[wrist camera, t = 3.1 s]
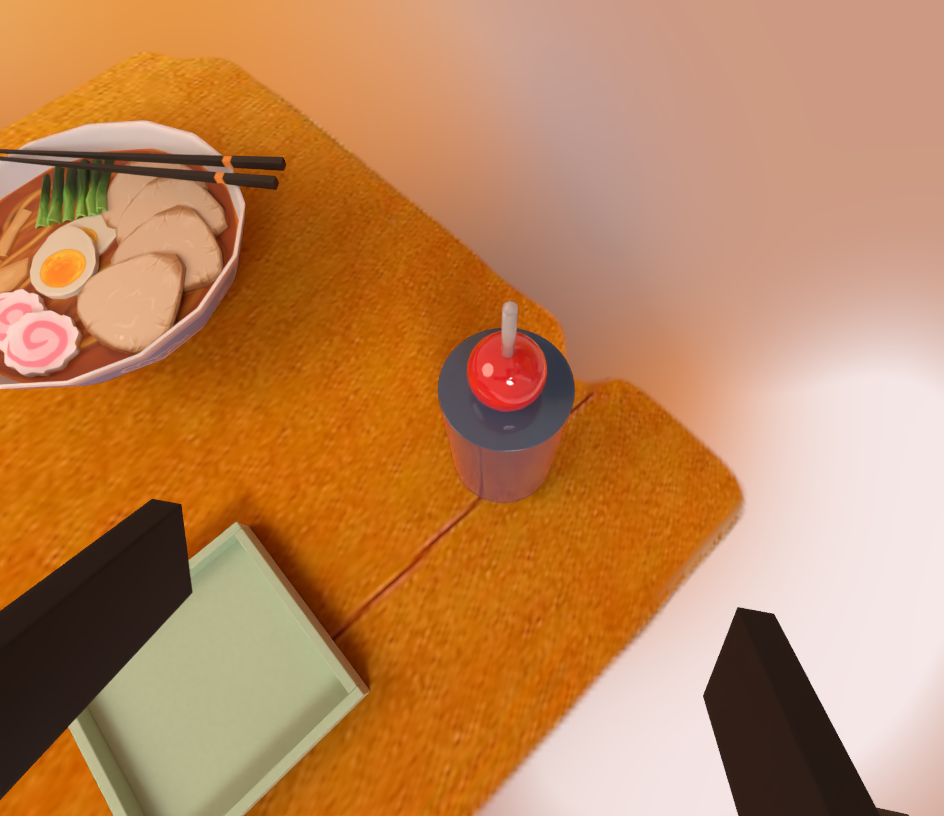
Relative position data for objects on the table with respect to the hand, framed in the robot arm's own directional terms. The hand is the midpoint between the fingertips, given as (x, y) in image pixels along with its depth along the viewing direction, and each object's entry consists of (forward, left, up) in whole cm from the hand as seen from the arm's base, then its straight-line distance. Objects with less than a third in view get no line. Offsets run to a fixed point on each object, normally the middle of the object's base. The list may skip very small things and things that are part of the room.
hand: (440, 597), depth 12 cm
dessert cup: (+10, -4, -21) cm, 24 cm away
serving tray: (-1, +16, -21) cm, 26 cm away
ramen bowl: (+28, +22, -22) cm, 42 cm away
